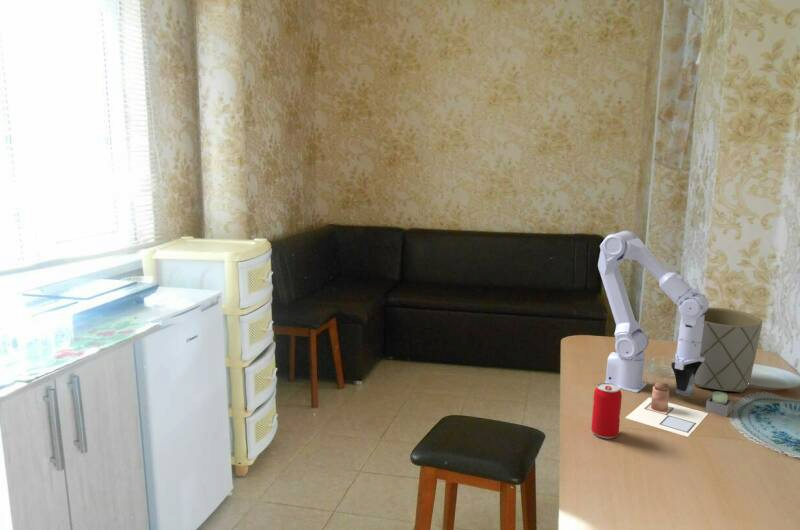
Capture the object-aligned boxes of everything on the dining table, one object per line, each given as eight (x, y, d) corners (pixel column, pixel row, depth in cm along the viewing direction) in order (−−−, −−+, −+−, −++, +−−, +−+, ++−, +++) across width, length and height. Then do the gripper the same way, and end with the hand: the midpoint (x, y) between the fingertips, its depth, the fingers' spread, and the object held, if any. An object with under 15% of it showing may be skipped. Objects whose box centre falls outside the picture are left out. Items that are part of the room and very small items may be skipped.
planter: (759, 399, 169) (769, 329, 165) (683, 390, 175) (690, 321, 171) (746, 374, 187) (754, 310, 183) (677, 366, 193) (683, 304, 189)
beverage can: (618, 430, 151) (622, 383, 148) (618, 442, 145) (622, 393, 142) (591, 426, 153) (595, 380, 150) (590, 437, 147) (594, 389, 144)
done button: (710, 405, 161) (711, 394, 160) (713, 401, 164) (715, 390, 163) (724, 409, 159) (725, 398, 158) (728, 404, 161) (729, 393, 161)
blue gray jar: (673, 392, 168) (676, 370, 166) (678, 388, 170) (680, 366, 169) (689, 397, 165) (691, 374, 164) (693, 392, 168) (696, 369, 167)
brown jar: (648, 408, 162) (651, 385, 161) (654, 403, 165) (656, 380, 164) (664, 413, 160) (666, 389, 158) (669, 408, 163) (672, 384, 161)
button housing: (705, 411, 161) (706, 400, 161) (710, 405, 165) (711, 395, 164) (726, 417, 158) (727, 406, 158) (731, 411, 162) (732, 400, 161)
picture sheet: (625, 418, 157) (625, 417, 157) (649, 397, 170) (649, 397, 170) (687, 437, 147) (687, 436, 147) (708, 414, 160) (708, 413, 160)
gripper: (697, 349, 157) (691, 400, 159) (713, 336, 167) (707, 383, 170) (668, 343, 161) (663, 392, 164) (686, 330, 172) (680, 376, 175)
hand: (684, 387), depth 167 cm, fingers closed on blue gray jar, 4 cm apart
